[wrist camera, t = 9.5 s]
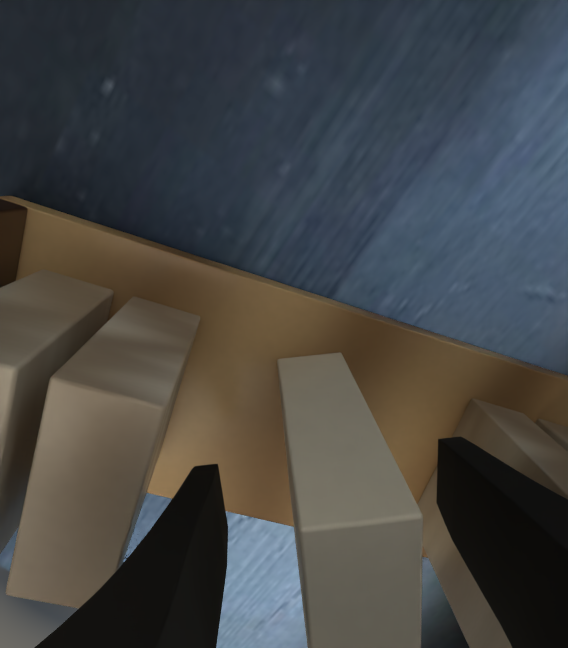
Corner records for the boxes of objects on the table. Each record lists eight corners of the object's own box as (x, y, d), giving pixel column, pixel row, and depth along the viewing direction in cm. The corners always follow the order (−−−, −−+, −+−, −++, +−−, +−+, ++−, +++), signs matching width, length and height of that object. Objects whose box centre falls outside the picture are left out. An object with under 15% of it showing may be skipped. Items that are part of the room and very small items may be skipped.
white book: (341, 351, 14) (425, 515, 7) (348, 486, 15) (421, 725, 9) (276, 358, 14) (298, 530, 7) (289, 493, 15) (318, 739, 8)
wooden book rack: (628, 395, 16) (960, 587, 8) (521, 565, 18) (709, 838, 11) (10, 194, 12) (-354, 218, 5) (-29, 434, 15) (-319, 699, 7)
